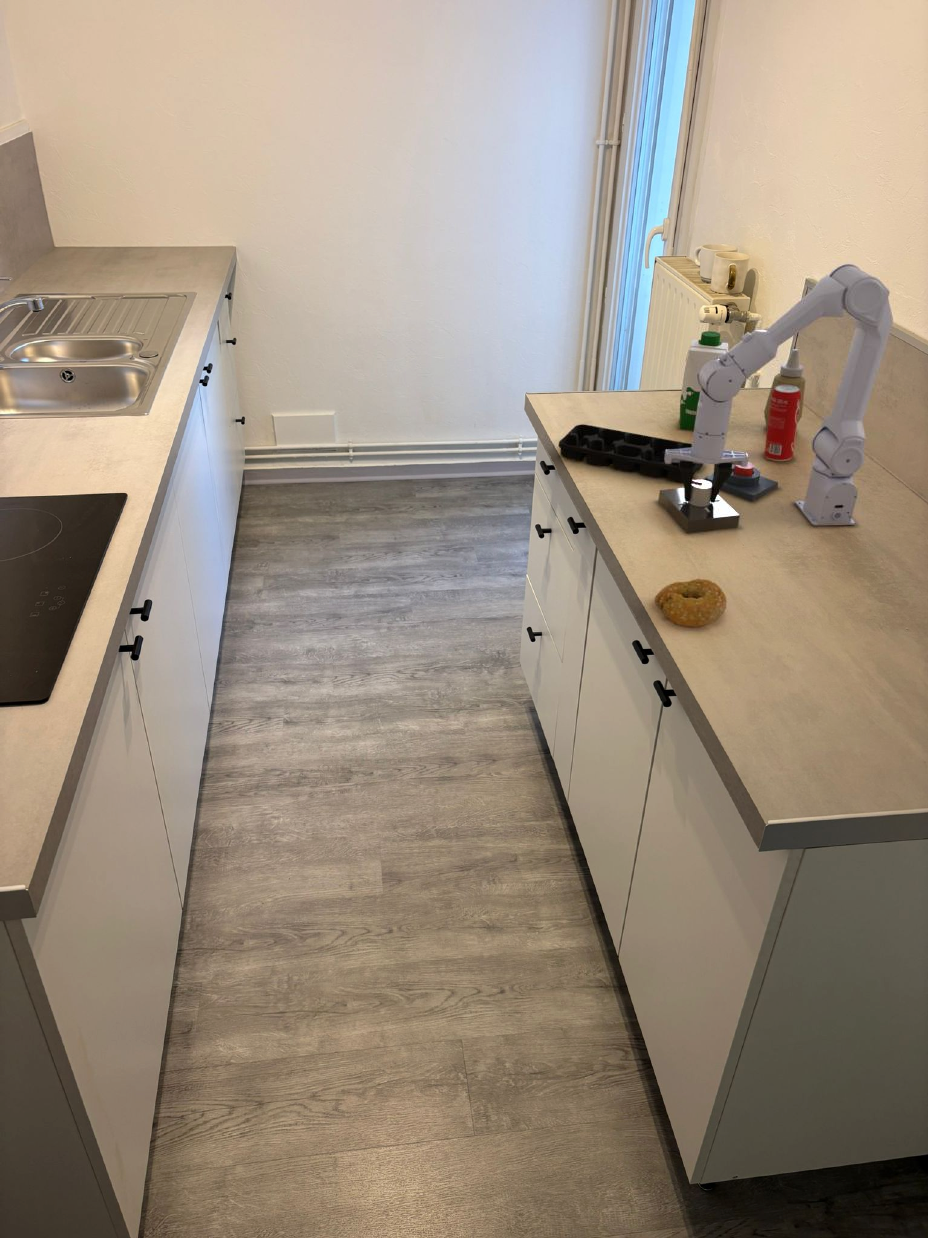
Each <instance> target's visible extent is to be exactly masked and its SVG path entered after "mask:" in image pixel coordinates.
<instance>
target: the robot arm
mask: <svg viewBox="0 0 928 1238" xmlns="http://www.w3.org/2000/svg"><path fill="white" fill-rule="evenodd" d="M890 293H891V292H890V290H889V288H887V286H886V285H885V283H883V282H882V281H881V280H880V279H879V278H878V277H876V276H872V275H871V274H869V273H868V272H865V271H864V270H862V269H860V267H858V266H856V265H855V264H853V263H843V264H841V265H838V266H836V267H835V268H834V269H833V270H831V272H830V273H829V274H826V275H825V276H823V277H822V278H820V279H818V281H817V283H816V284H815V286H814V287H813V288H812V289H811V290H810V291H809V292H808V293H807V294H806V295H805V296H803V298H801V299H800V300H799V301H798V302H797V303H795V305H793V306H792V307H791V308H790V309H789V310H788V311H786V312H785V313H784V314H783V315H782V316H780V318H778V319H777V320H776V321H775V322H774V323H773V324H771V325H770V326H769V327H767V329H755V330H753V331H752V332H748V331H747V332H746V333H744V334H743V335H742V336H741V339H742V340H740V341H739V342H738V343H736V344H735V345H733V346H732V347H731V348H730V349H728V352H727V353H725V354H724V353H722V354H721V355H719V359H715V360H711V361H709V362H707V363H706V364H705V365H704V366H703V367H702V368H701V371H700V373H698V374H697V381H698V383H699V385H700V386H701V390H700V396H699V402H698V407H697V414H696V420H695V427H694V431H693V434H692V436H693V437H692V442H691V444H692V447H691V448H683V449H666V450H665V458H664V460H665V463H667V464H671V462H678V463H679V467H680V470H681V473H682V477H683V483H682V484H683V488H684V498H685V501H687V502H689V500H690V493H691V484H692V480H694V475H695V474H694V469H693V467H694V465H693V463H702V464H703V465H704V464H706V465H713V473H712V474H713V481H712V484H713V489H712V495H711V503H715V500H716V497H717V495H719V493H720V491H721V490H720V489H721V487H722V486H723V484H724V483H725V482H726V480H727V479H728V478H729V477H730V476H731V474H732V471H733V469H732V465H741V466H742V467H747V465H748V462H749V459H750V456H749V455H748V452H743V451H735V450H729V449H725V447H726V442H727V436H728V429H729V424H730V417H731V412H732V404H733V398H734V397H736V396H737V395H738V394H739V393H740V391H741V389H742V385H743V384H744V383H745V382H746V381H747V380H748V379H749V378H750V377H751V376H753V375H754V374H756V373H757V372H758V371H759V370H761V369H762V368H763V367H765V366H766V365H767V364H769V363H770V362H771V361H773V360H774V359H775V358H776V356H777V353H778V349H779V347H780V346H781V345H782V344H784V343H786V342H787V341H788V340H789V339H792V337H794V336H795V335H797V334H798V333H799V332H801V331H803V330H804V329H805V328H807V327H809V326H811V324H813V323H814V322H816V321H817V320H819V319H820V318H843V317H845V312H846V313H847V315H848V316H849V317H850V319H851V320H852V321H853V323H854V324H855V330H854V332H853V333H854V334H853V337H852V340H851V343H850V347H849V352H848V355H847V358H846V361H845V365H844V368H843V371H842V376H841V378H840V381H839V386H838V389H837V393H836V397H835V400H834V403H833V406H832V410H831V413H829V415H827V416H825V417H824V418H823V419H822V421H821V425H820V427H819V429H818V430H817V431H816V432H815V434H814V435H813V437H812V439H811V445H810V446H811V449H812V452H813V454H815V455H814V460H813V463H812V467H811V472H810V475H809V480H808V484H807V490H806V494H805V498H804V500H796V501H795V502H794V503H795V505H796V506H797V507H798V509H799V510H800V511H801V512H802V514H803V515H804V516H805V517H806V519H807V520H808V521H809V523H810V524H811V525H812V526H815V527H816V526H817V527H818V526H854V525H856V521H855V520H854V519H853V514H854V510H855V505H856V502H857V498H858V489H857V488H856V485H855V483H854V474H855V473H857V472H858V471H859V470H860V469H861V468H862V466H863V464H864V463H865V458H866V453H865V442H866V440H867V439H866V432H865V428H864V424H863V421H864V418H865V414H866V411H867V408H868V405H869V401H870V398H871V395H872V393H873V389H874V385H875V381H876V379H877V375H878V373H879V370H880V369H879V368H880V365H881V363H882V360H883V356H884V353H885V349H886V346H887V343H888V339H889V337H890V333H891V330H892V326H893V322H894V317H893V313H892V309H891V304H890V300H889V299H890V298H889V296H890ZM844 310H845V312H844Z"/></svg>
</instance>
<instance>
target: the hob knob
mask: <svg viewBox="0 0 928 1238" xmlns="http://www.w3.org/2000/svg"><path fill="white" fill-rule="evenodd" d="M712 489H713V484H712V483H711V482H709V481H706V480H705V479H693V480H692V484H691V493H690V500H689V503H690V504H691V505H694V506H698V507H705V506H708V505H709V504H710V501H711V495H712Z"/></svg>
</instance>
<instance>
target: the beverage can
mask: <svg viewBox="0 0 928 1238" xmlns="http://www.w3.org/2000/svg"><path fill="white" fill-rule="evenodd" d="M800 401H801V392H800V387H798V386H795V385H790V384H782V385H777V386H775V387H774V390H773V392H772V395H771V403H770V412H769V420H768V428H766V438H765V445H764V456H765V458H766V459H767V460H769V461H773V462H788V461H790V460H791V459H792V458H793V457H794V451H795V444H796V436H797V429H798V424H799V422H798V416H799V408H800ZM797 423H798V424H797Z"/></svg>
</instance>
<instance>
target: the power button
mask: <svg viewBox="0 0 928 1238" xmlns="http://www.w3.org/2000/svg"><path fill="white" fill-rule="evenodd" d="M753 468H755V464H753V463H751V462H749V461H748V465H747V467H742V466H741V465H735V466H734V473H735V474H737V475H741V476H751V475H752V473H753Z"/></svg>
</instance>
